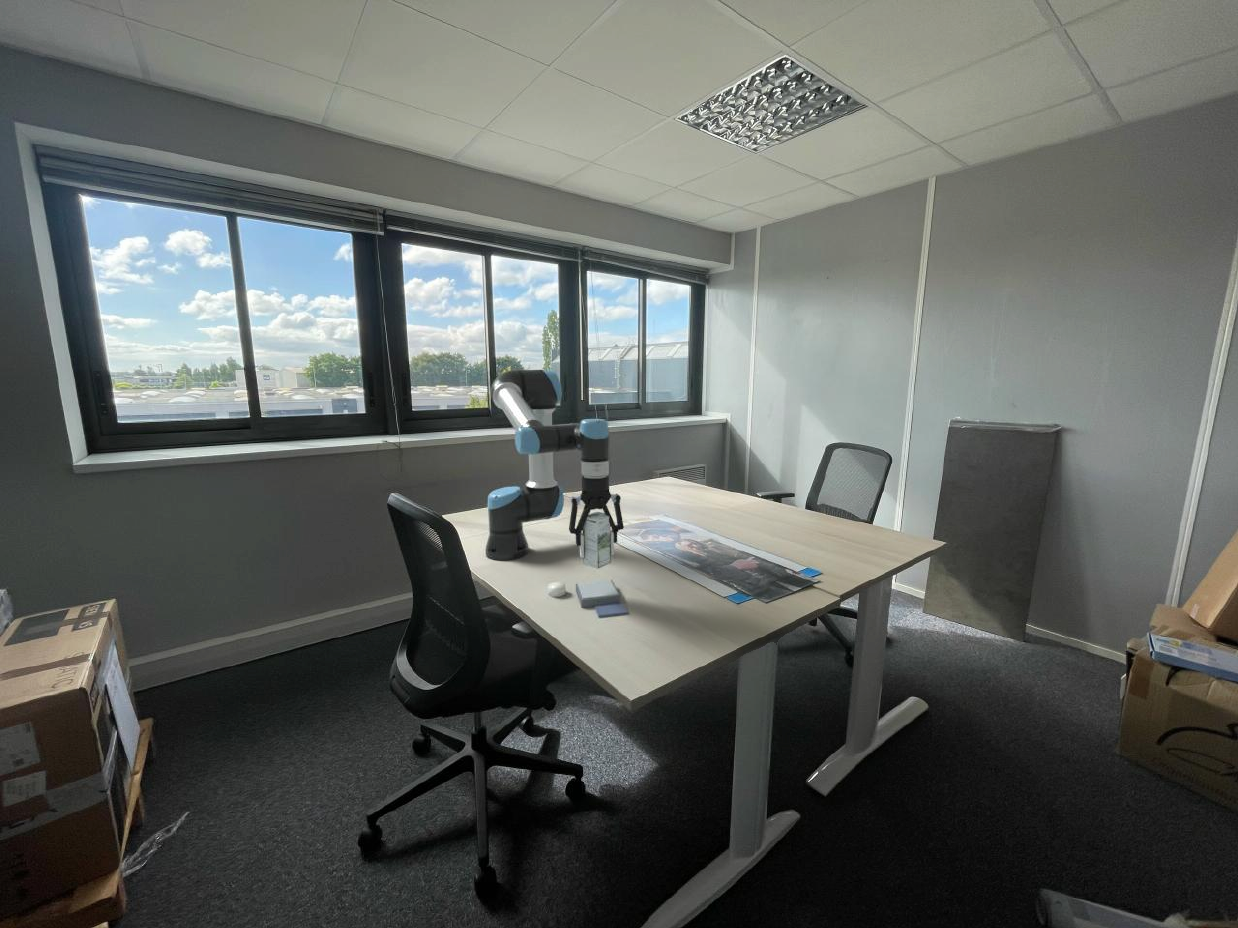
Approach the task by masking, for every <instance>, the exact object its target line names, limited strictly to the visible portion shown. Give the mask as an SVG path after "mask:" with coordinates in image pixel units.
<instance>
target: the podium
mask: <svg viewBox="0 0 1238 928" xmlns="http://www.w3.org/2000/svg"><path fill="white" fill-rule="evenodd" d="M575 592H576V595H577V598H578V602H579V603H580V605H579V606H580V607H581V608H590V607H591V608H592V607H597V606H605V605H614V604H622V603H621V602H622V601H621V598H622V597H621V594H620V592H619V590H618V588H617V586H616V585H615V583H614V581H613V579H606V580H605V579H604V580H597V581H587V582H577V583H575Z"/></svg>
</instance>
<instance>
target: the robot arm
mask: <svg viewBox="0 0 1238 928" xmlns="http://www.w3.org/2000/svg"><path fill="white" fill-rule="evenodd" d="M562 391H563V390H562V385H561V381H560V378H559V377H558V375H557V374H556V372H554V371H553V370H548V369H510V370H506V371H503V372H502V373H500V374H499V375H498V376H497V377H496V378H495V379H494V380H493V382H492V384H491V387H490V396H491V400H492V401H493V403H494V405H495V406H496V407H497V409H501V410H502V411H503V413H504V414H505V416H506V417H507V419H508V421H509V422H510V424H511V426H512V427H513V429H514V430H515V433H514V444H515V448H516V450H517V453H518V454H520V455H528V467H529V468H528V469H529V471H528V472H529V473H528V474H529V476H528V477H529V479H528V481H526V483H525V489H521V487H519V486H516V485H514V486H504V487H501V488H497V489H495V490H493V491H491V492H490V493H489V494H488V495H487V512H488V513H487V514H488V526H489V527H488V529H489V534H488V538H487V541H486V545H485V556H486V557H487V558H488V559H491V560H497V561H508V560H515V559H519V558H522V557H524V556H525V555H528V553H529V547H530V546H529V543H528V541H527V540H528V539H527V538H526V535H525V533H524V529H523V525H524V523H529V522H530V523H531V522H535V521H542V520H543V521H544V520H551V519H555V518H558V517H559V516H560V515H561V513H562V512H563V508H564V504H565V497H564V496H565V495H564V491H563V488H562V487H561V486H560V485H559V484H558V482H557V481H556V480H555V478H554V455H553V454H554V453H559V452H573V451H574V452H575V451H580V457H581V458H580V459H581V461H580V462H581V463H580V464H581V467H580V468H581V469H580V470H581V471H580V473H581V475H582V477H581V493H580V495H579V496H572V497H570V502H571V511H570V519H569V527H568V531H569V533H570V534H573V535H575V544H576V546H577V547H579V556H580V558H581V559H583V558H584V535H583V531H582V529H583V527H584V524H585V522H586V519H587V517H588V514H590V512H591V511H594V510H603V513H605V514H606V516H609V523H610V526H611V556H614V555H615V544H616V543H618V532H619V531H620V530H624V528H625V526H624V521H623V515H622V509H621V499H622V498H621V496H620V494H619V493H615V494H614V493H611V491H610V477H609V476H608V475H609V474H610V466H609V465H610V464H609V463H610V462H609V457H610V456H609V454H610V453H609V451H610V450H609V446H610V444H609V443H610V442H609V439H610V436H609V435H610V432H609V422H608V421H607V420H606V419H603V418H586V419H582V420H581V421H580V422H572V423H569V424H557V425H554V424H553V413H554V411H555V410H556V409H557V404H559V403H560V402H561V401H562V397H563V396H562V395H563V394H562V393H563V392H562ZM610 500H611V502H612V503H613V506H614V512H615V517H616V523H615V521H614V519H613V516H612V514H611V512H610V510H609V507H608V506H607V504H608V502H610ZM581 501H582V503H583V504H584V507H583V510H582V513H581V515H580V517H579V520H578V523H577V525H576V522H577V516H578V510H579V509H578V506H579V505H580V502H581Z"/></svg>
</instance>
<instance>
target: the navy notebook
mask: <svg viewBox="0 0 1238 928" xmlns="http://www.w3.org/2000/svg"><path fill="white" fill-rule="evenodd" d="M594 609H595V613H596V615H597V617H598V618H607V617H615V616H623V615H629V611H628V609H627V607H626V605H625V603H624V602H623V603H618V604H609V605H601V606H594Z"/></svg>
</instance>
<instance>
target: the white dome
mask: <svg viewBox="0 0 1238 928" xmlns="http://www.w3.org/2000/svg"><path fill="white" fill-rule="evenodd" d="M547 592H548V596H549V597H551V598H560V597H563V596H565V595H566V593H567V590H566V583H565V582H564V581H563V582H562V581H554V582H551V583H549V584H547Z"/></svg>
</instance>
